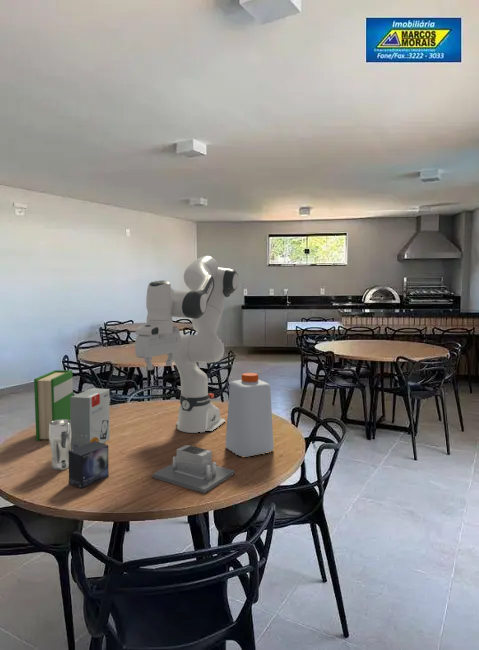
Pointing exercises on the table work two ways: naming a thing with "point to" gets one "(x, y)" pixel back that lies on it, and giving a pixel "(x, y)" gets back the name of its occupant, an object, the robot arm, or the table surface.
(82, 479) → the small box
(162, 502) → the table surface
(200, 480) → the tray
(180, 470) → the block
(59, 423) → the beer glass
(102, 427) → the hard drive box
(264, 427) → the plastic bottle
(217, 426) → the robot arm
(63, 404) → the hardback book
